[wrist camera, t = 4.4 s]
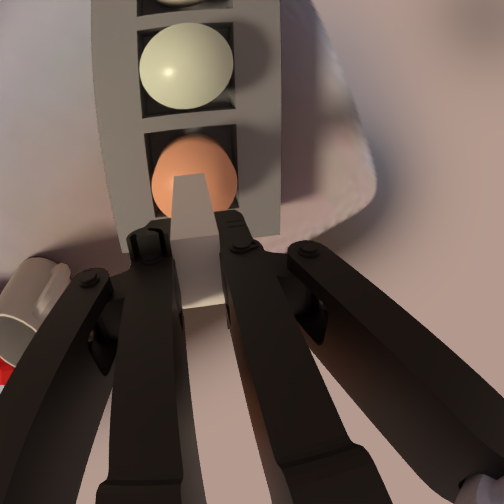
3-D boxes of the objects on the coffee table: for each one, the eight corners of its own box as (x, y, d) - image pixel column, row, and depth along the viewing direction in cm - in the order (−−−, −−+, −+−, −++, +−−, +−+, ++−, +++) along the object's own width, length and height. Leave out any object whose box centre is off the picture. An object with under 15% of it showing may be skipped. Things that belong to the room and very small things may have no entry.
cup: (8, 281, 26) (-25, 338, 19) (51, 223, 24) (11, 279, 17) (55, 320, 30) (34, 382, 22) (104, 272, 28) (85, 337, 21)
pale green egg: (150, 108, 18) (142, 114, 15) (146, 38, 16) (137, 28, 12) (226, 101, 19) (234, 105, 16) (223, 31, 17) (232, 20, 13)
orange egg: (161, 204, 22) (158, 229, 19) (153, 137, 19) (146, 149, 16) (230, 197, 23) (238, 220, 19) (227, 129, 20) (235, 140, 17)
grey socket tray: (131, 224, 26) (122, 253, 22) (111, -49, 13) (97, -72, 9) (264, 209, 28) (279, 234, 24) (259, -60, 15) (275, -85, 11)
